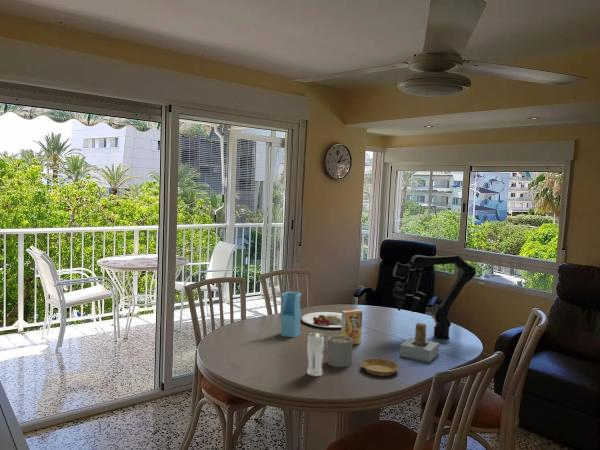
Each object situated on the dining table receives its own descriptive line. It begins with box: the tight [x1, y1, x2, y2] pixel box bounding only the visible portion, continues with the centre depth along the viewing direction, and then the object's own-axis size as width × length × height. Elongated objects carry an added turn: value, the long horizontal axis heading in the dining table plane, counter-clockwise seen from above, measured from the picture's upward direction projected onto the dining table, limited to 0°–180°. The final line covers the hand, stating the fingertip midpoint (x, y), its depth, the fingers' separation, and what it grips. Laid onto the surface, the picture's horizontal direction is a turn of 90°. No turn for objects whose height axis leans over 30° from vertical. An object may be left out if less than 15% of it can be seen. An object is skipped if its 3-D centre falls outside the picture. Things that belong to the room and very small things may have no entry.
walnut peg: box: [414, 322, 427, 347], centre depth 210 cm, size 4×4×13 cm
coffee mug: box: [326, 334, 353, 368], centre depth 199 cm, size 13×10×10 cm
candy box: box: [340, 309, 363, 345], centre depth 223 cm, size 9×4×15 cm, turn 116°
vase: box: [279, 291, 303, 338], centre depth 233 cm, size 8×8×20 cm
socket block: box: [399, 337, 440, 363], centre depth 211 cm, size 13×13×5 cm
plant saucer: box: [360, 358, 400, 377], centre depth 191 cm, size 15×15×3 cm
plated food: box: [301, 311, 342, 329], centre depth 259 cm, size 30×30×3 cm
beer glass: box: [306, 332, 326, 377], centre depth 184 cm, size 7×7×15 cm
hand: (405, 311), depth 237 cm, fingers open, 9 cm apart
